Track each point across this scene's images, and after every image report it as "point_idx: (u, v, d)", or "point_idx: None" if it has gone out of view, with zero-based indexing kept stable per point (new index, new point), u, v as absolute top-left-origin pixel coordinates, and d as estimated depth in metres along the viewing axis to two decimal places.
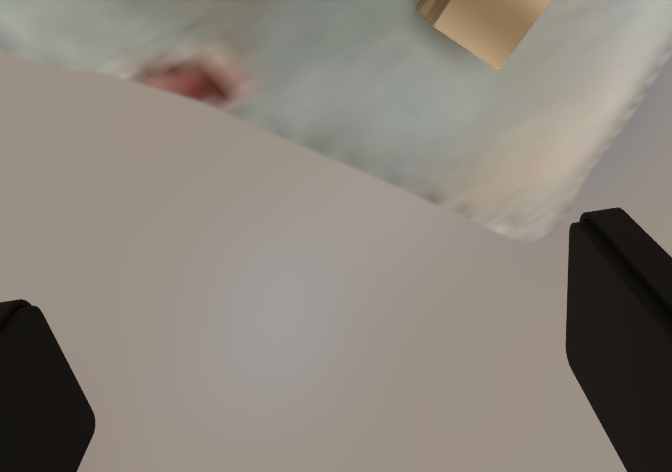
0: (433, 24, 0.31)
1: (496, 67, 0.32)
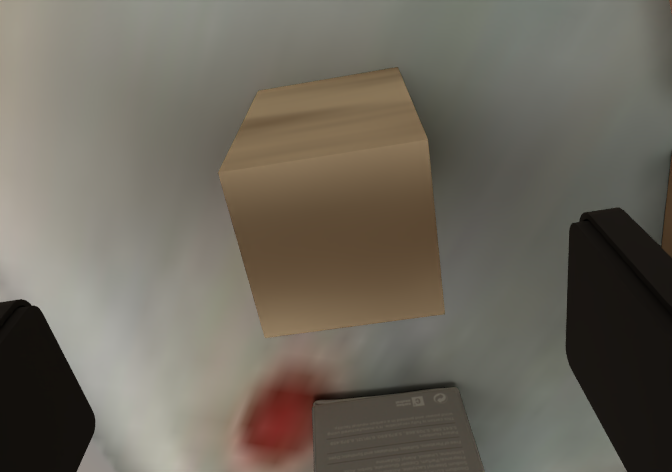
0: None
1: (229, 174, 0.12)
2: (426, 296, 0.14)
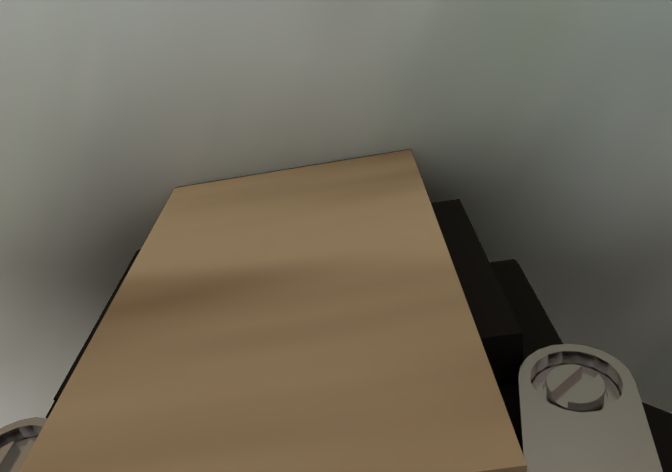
0: (519, 450, 0.05)
1: None
2: None
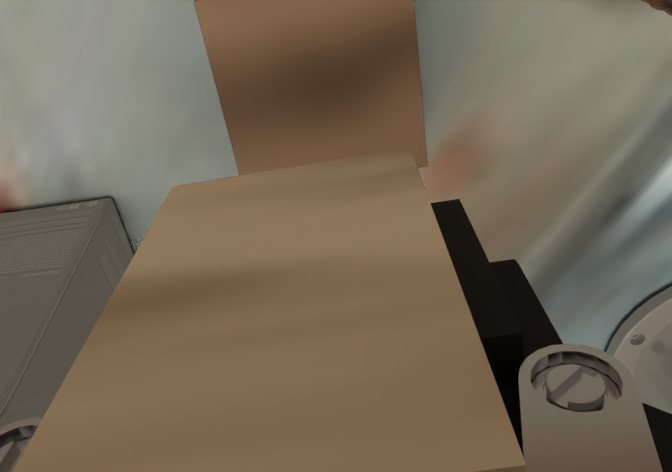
0: (519, 450, 0.05)
1: None
2: None
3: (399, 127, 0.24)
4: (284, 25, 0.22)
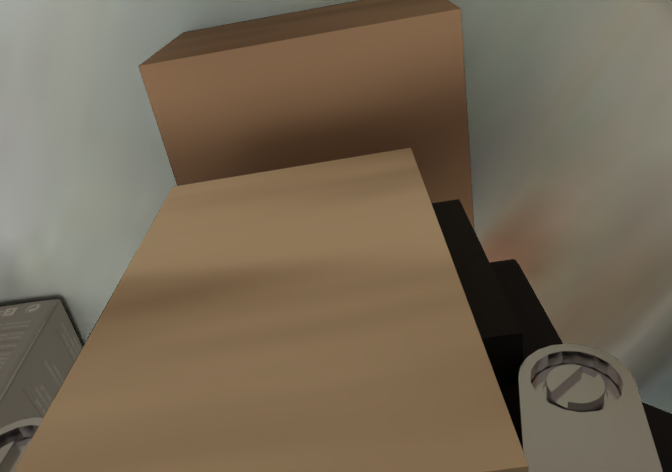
0: (521, 451, 0.05)
1: None
2: None
3: None
4: (271, 98, 0.15)
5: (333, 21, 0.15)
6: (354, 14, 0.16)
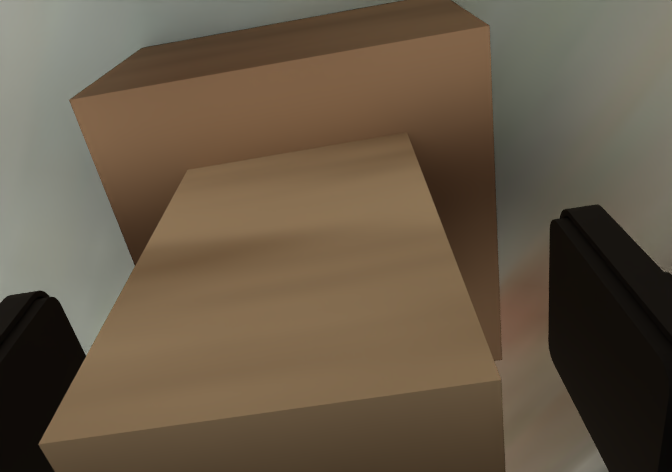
0: (495, 370, 0.06)
1: (63, 446, 0.06)
2: None
3: None
4: (244, 140, 0.11)
5: (323, 39, 0.12)
6: (349, 29, 0.13)
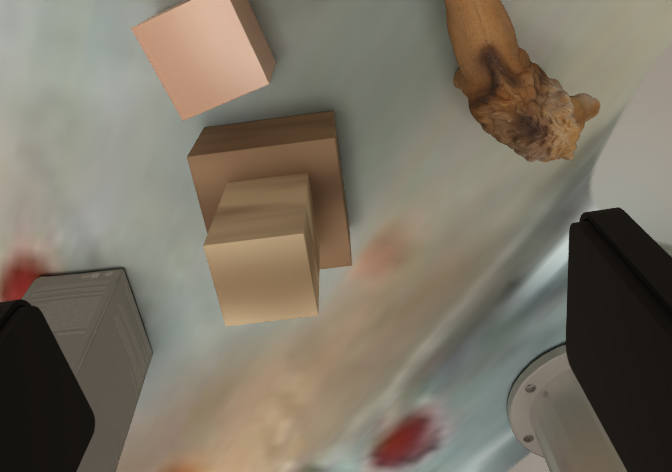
0: (303, 232, 0.26)
1: (208, 246, 0.26)
2: (308, 306, 0.27)
3: (330, 239, 0.34)
4: (248, 172, 0.32)
5: (279, 135, 0.32)
6: (290, 130, 0.33)
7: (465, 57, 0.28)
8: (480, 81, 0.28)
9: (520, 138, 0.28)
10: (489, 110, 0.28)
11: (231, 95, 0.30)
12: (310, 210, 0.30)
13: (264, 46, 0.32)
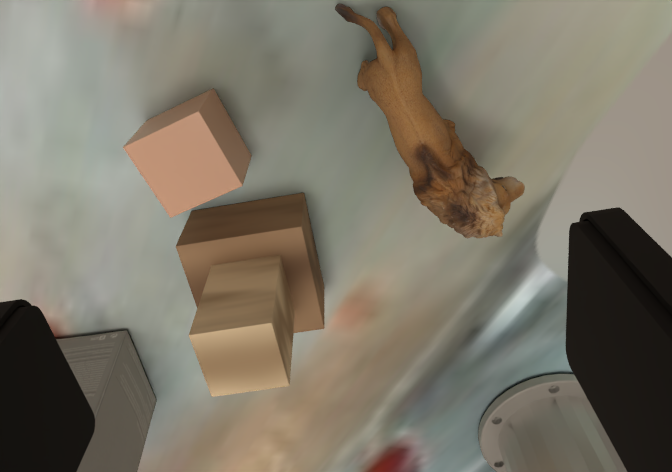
0: (272, 321, 0.31)
1: (193, 335, 0.31)
2: (280, 379, 0.32)
3: (303, 308, 0.39)
4: (229, 257, 0.37)
5: (255, 222, 0.37)
6: (265, 216, 0.38)
7: (404, 153, 0.33)
8: (419, 172, 0.33)
9: (454, 222, 0.32)
10: (427, 197, 0.33)
11: (210, 196, 0.35)
12: (282, 290, 0.35)
13: (239, 146, 0.37)
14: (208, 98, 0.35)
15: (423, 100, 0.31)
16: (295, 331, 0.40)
